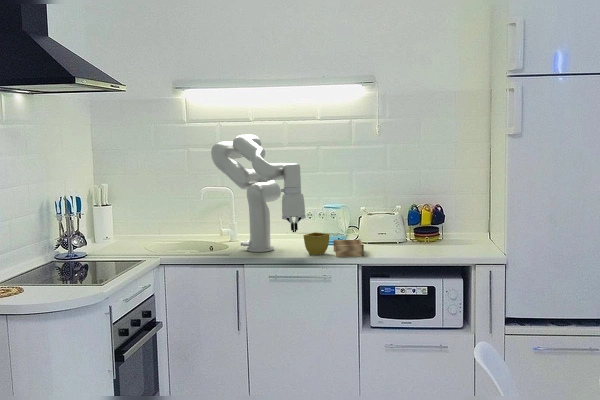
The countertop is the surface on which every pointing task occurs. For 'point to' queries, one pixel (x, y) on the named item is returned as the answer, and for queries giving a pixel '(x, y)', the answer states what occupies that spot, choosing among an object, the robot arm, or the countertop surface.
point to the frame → (348, 248)
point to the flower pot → (316, 243)
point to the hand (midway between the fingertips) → (294, 231)
